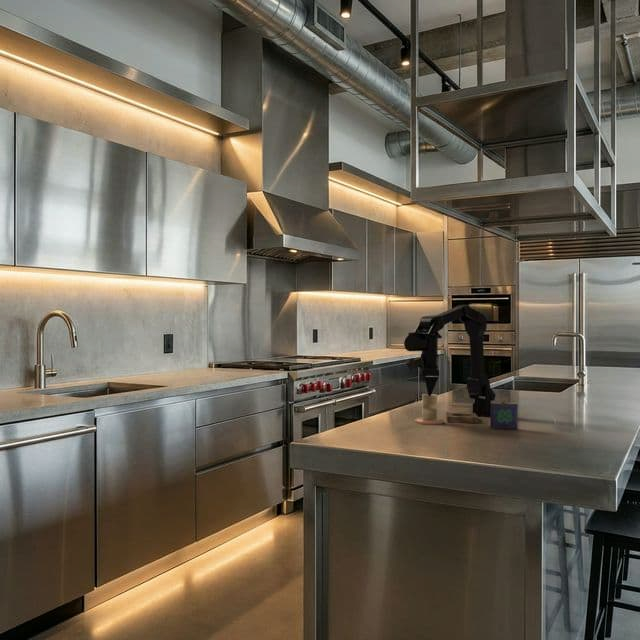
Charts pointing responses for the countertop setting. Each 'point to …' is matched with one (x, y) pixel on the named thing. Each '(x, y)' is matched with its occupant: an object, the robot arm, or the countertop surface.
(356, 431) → the countertop surface
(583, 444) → the countertop surface
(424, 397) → the maple block
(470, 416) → the pocket board
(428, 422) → the terracotta plate
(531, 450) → the countertop surface
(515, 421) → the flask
